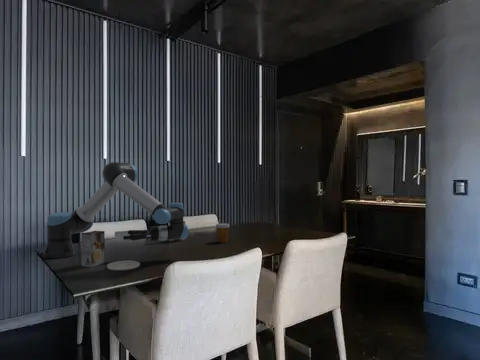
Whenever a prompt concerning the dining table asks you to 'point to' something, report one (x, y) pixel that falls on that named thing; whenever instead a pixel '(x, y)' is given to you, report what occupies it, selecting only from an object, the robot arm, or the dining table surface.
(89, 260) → the coffee box
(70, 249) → the robot arm
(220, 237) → the disposable coffee cup
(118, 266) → the plate
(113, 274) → the dining table surface
